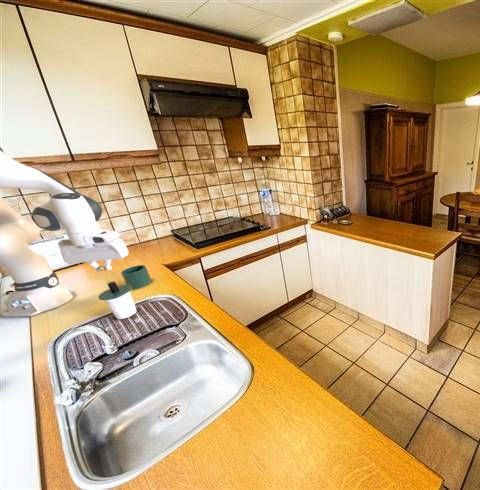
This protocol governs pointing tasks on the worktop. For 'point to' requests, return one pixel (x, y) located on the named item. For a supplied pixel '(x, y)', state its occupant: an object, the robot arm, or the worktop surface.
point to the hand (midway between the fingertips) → (104, 270)
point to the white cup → (122, 306)
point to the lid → (114, 291)
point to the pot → (136, 276)
